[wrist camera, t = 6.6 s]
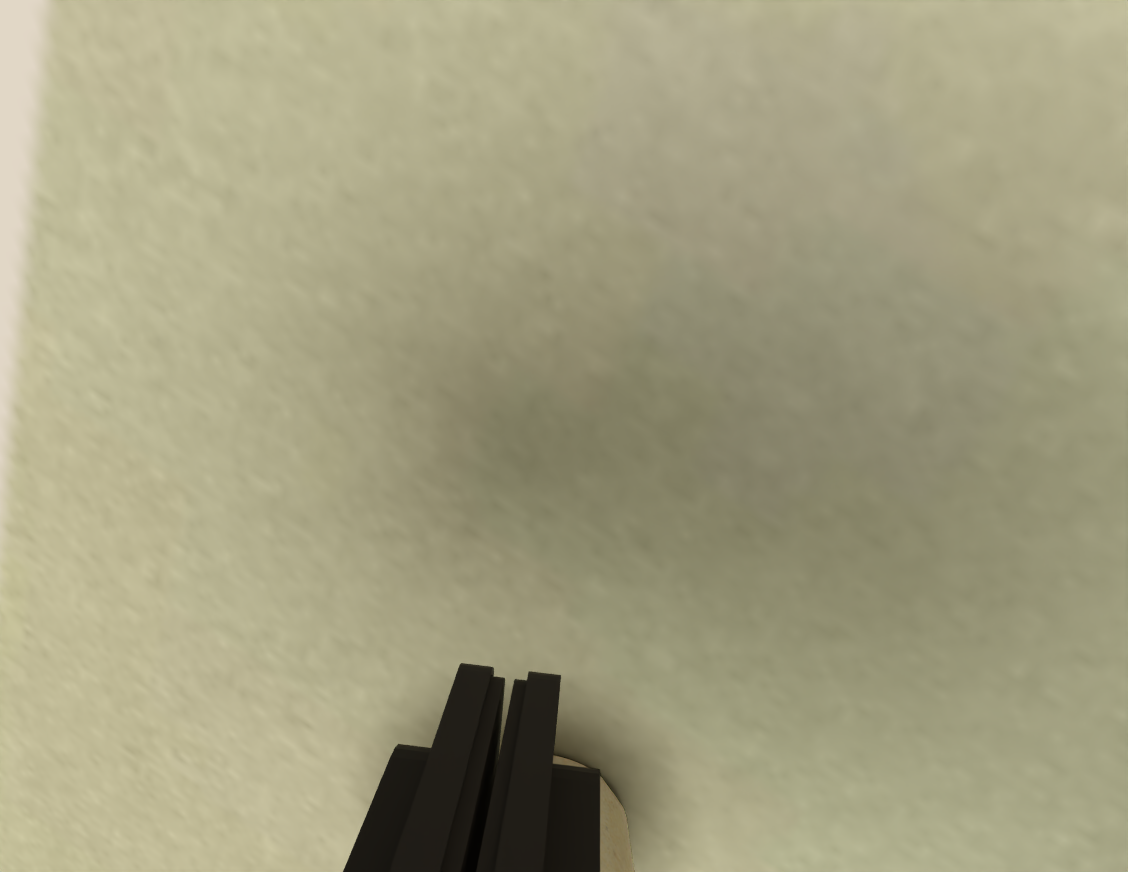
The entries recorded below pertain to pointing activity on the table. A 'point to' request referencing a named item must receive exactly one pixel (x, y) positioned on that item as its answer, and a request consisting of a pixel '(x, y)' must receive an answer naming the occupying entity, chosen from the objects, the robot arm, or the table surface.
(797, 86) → the table surface
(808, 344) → the table surface
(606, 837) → the flower pot
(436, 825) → the robot arm
